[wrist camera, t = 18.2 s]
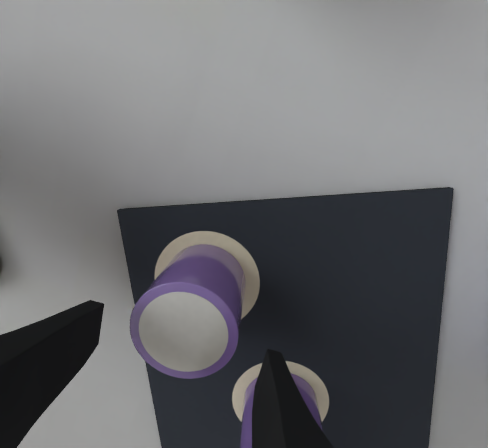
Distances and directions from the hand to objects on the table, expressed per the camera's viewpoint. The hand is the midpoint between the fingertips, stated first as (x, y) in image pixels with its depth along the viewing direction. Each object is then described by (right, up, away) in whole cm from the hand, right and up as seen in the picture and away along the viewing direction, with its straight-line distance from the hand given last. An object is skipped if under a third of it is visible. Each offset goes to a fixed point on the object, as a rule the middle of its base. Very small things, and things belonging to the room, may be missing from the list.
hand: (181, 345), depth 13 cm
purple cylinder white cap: (0, +1, +6) cm, 6 cm away
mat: (+6, -7, +8) cm, 12 cm away
